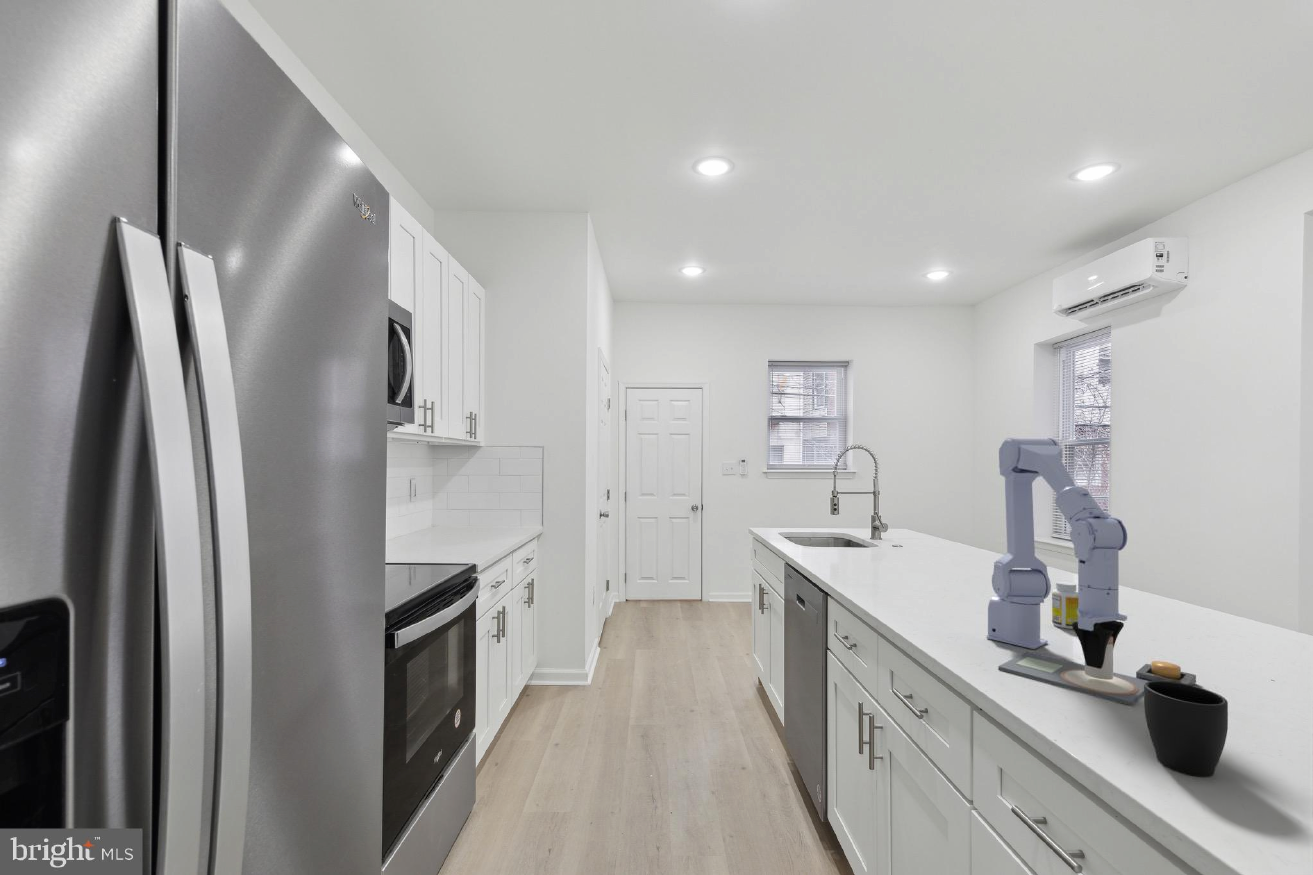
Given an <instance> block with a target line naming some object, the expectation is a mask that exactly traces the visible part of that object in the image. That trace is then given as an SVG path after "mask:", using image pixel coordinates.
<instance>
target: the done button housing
mask: <svg viewBox="0 0 1313 875" xmlns="http://www.w3.org/2000/svg"><path fill="white" fill-rule="evenodd" d="M1135 678H1139V679H1143V680H1147V681H1170V680H1177V681H1180V682H1182V683H1183V684H1188V685H1192V686H1196V684H1195V683H1197V675H1196V674H1195V673H1189V672H1185V671H1181V679H1171V678H1167V677H1163V676H1159V675H1154V674H1152V673H1151V664H1148V663H1145V664H1144V665H1142V667H1140V668H1139V669H1138V670H1137V671H1136V672H1135Z"/></svg>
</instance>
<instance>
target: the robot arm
mask: <svg viewBox="0 0 1313 875" xmlns="http://www.w3.org/2000/svg"><path fill="white" fill-rule="evenodd" d="M1062 460H1063V448H1062V447H1061V446H1060V444H1059V442H1058V441H1057V440H1056V439H1055V438H1052V437H1050V438H1049V437H1048V438H1018V437H1017V438H1016V437H1015V438H1014V437H1007V438H1005V439H1004V441H1003V442H1002V444H1001V446H1000V447H999V448H998V461H999V462H998V463H999V464H998V468H999V475H1000V476H1002V477H1004V494H1005V525H1006V554H1004V555H1002V556H1001V557H1000V558H998V559H997V560H996V561H994V562H993V573H992V575H991V585H992V589H993V591H994V593H995V594H996V595H994V596H992V597H991V598H990V599H989V601H988V602H989V603H988V606H987V635H985V636H986V637H985V638H986V639H988V640H992V641H993V640H994V641H998V642H1000V643H1001V642H1002V643H1006V644H1009V645H1010V644H1011V645H1015V646H1018V647H1023V648H1027V649H1031V650H1036V649H1037V648H1040V647H1041V646H1044V645H1045V644H1047V643H1048V642H1049V641H1048V639H1045V638H1044V639H1043V638H1041V604H1044V603H1045V599H1047V598H1048V597H1049V595H1050V594H1051V592H1052V590H1051V589H1052V585H1051V580H1050V577H1049V574H1048V566H1047V564H1046V563H1045V562H1043V561H1042V560H1041V559H1039V558H1038V557H1037V556H1036V554H1035V553H1036V551H1035V526H1034V525H1035V524H1034V500H1033V499H1034V498H1033V497H1034V496H1033V483H1034V481H1035V480H1037V478H1040V477H1042V479H1043V480H1044V481H1045V482H1046V483H1047V484H1048V485H1049V487H1050V488H1051V489H1052V490H1053V492H1055V494H1056V496H1055V500H1054V502H1055V503H1054V504H1055V505H1056V507H1057V508H1058V510H1059V511H1060V513H1061V514H1062V516H1063V517H1064V519H1065V520H1066V521H1067V523H1068V524H1069V526H1070V528H1071V529H1070V531H1069V535H1070V536H1069V537H1070V541H1071V543H1072V545H1073V548H1074V555H1075V558H1076V559H1077V560H1078V562H1077V563H1078V564H1077V566H1078V567H1077V568H1078V569H1077V570H1078V571H1077V572H1078V578H1077V579H1078V581H1077V582H1078V584H1077V585H1078V588H1077V589H1078V590H1077V592H1078V608H1077V614H1078V616H1079V617H1078V622H1074V623H1073V624H1072V627H1073V629H1072V630H1073V632H1074V633H1075V635H1076V636H1077V639H1078V640H1079V643H1080V645H1081V646H1080V647H1081V650H1082V654H1083V657H1084V658H1083V659H1084V663H1085V662H1086V665H1087V666H1090V667H1094V668H1099V669H1101V668H1102V666H1103V663H1104V658H1105V651H1106V647H1107V644H1108V641H1109V639H1110V637H1111V636H1112V637H1113V650H1114V648H1115V645H1116V641H1117V639H1118V636H1119V635H1120V632H1121V631H1122V629H1123V628H1124V624H1125V623H1124V622H1125V621H1128V615H1126V614H1123V613H1122V614H1121V613H1119V610H1120V609H1119V604H1120V603H1119V591H1120V590H1119V587H1120V586H1119V584H1120V582H1119V571H1120V570H1119V551H1122V550H1123V549H1124V548H1125V547H1126V545H1127V543H1128V532H1127V528H1126V526H1125V524H1124V523H1123V521H1122V520H1121V519H1120V518H1117V517H1113V516H1112V515H1111V514H1106V513H1105V511H1104V510H1103V509H1102V507H1101V506H1100V505H1099V503H1098V502H1097V501H1096V500H1095V499H1094V497H1093V495H1092V494H1091V492H1090V491H1089V490H1088V489H1087V488H1086V487H1083V486H1077V485H1076V483H1075V482H1074V480H1073V478H1072V476H1071V475H1070V473H1069V471H1068V469H1067V467H1066V466H1065V465H1064V463H1063V461H1062Z"/></svg>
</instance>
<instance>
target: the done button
mask: <svg viewBox="0 0 1313 875" xmlns="http://www.w3.org/2000/svg"><path fill="white" fill-rule="evenodd" d="M1150 665H1151V673H1152V674H1154V675H1159V676H1163V677H1167V678H1171V679H1181V672H1182V671H1181V670H1182V669H1181V668H1182V667H1181V666H1180V665H1178V664H1174V663H1172V662H1167V661H1160V660H1152V661H1151V664H1150Z"/></svg>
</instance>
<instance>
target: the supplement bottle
mask: <svg viewBox="0 0 1313 875" xmlns="http://www.w3.org/2000/svg"><path fill="white" fill-rule="evenodd" d="M1077 608H1078V591H1077V584H1076V583H1074V582H1070V581H1060V580H1059V581H1058V580H1057V581H1056V582H1055V589H1053V590H1051V618H1052V619H1051V622H1052V624H1053V626H1055V627H1057V628H1061V629H1066V630H1068V629H1069V630H1073V627H1072V624H1073V623H1074V622H1078V617H1079V616H1078V614H1077Z"/></svg>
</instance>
